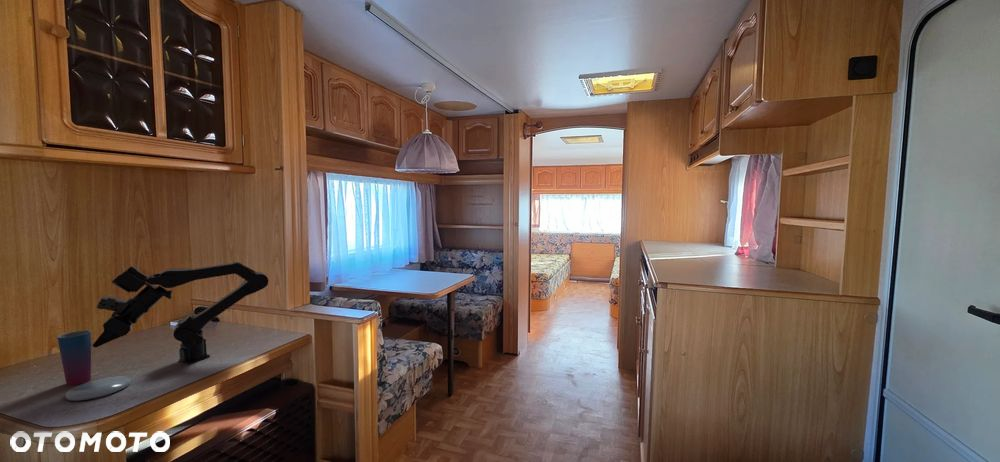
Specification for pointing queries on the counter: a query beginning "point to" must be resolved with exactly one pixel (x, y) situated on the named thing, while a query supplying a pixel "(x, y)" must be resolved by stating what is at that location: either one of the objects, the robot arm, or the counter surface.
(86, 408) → the counter surface
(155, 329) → the counter surface
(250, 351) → the counter surface
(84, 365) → the cup
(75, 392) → the saucer
